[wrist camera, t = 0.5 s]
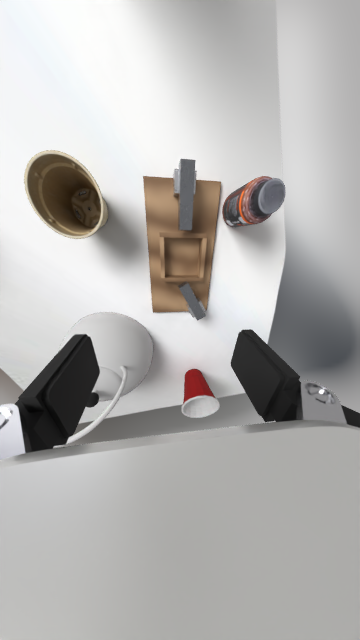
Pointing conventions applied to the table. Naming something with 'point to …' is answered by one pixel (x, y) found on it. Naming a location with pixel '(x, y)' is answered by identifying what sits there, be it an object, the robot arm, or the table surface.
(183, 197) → the pair of grey blocks
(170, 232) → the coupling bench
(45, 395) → the robot arm
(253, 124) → the table surface
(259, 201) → the supplement bottle
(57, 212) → the flower pot
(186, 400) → the plastic cup
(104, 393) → the kettle
